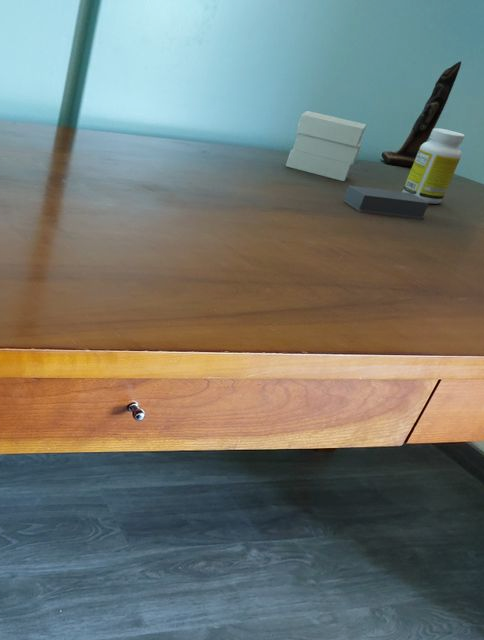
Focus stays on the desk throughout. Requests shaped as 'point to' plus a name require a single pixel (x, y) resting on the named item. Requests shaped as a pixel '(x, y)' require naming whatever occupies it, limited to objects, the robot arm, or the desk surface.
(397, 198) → the dark gray block
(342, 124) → the white block
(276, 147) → the desk surface
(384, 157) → the statue
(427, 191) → the pill bottle
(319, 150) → the white stack
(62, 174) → the desk surface
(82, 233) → the desk surface
